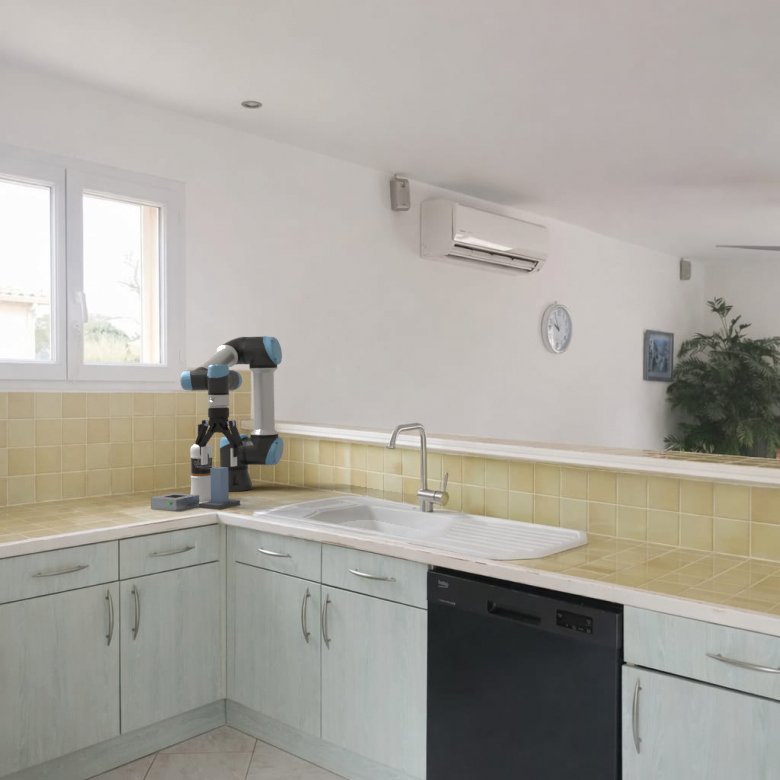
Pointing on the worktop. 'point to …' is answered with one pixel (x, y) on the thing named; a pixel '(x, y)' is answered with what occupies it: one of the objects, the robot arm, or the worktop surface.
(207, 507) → the dark grey flat frame
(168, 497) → the block
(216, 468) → the plug
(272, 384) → the robot arm
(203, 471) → the vodka
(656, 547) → the worktop surface
